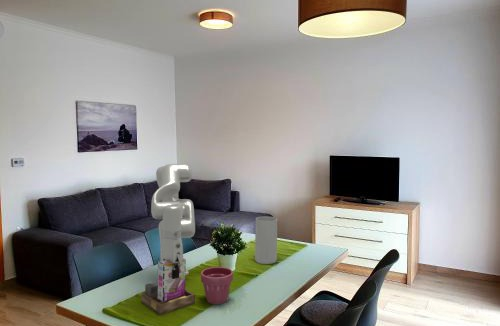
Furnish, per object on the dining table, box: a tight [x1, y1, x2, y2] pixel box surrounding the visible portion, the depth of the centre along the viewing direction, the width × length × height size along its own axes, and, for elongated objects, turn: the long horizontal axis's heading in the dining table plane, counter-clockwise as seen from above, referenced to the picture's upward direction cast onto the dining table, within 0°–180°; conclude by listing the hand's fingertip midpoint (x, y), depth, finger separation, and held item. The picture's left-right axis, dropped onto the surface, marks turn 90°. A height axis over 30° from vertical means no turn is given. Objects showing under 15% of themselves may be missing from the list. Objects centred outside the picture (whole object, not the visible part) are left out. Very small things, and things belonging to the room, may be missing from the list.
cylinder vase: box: [254, 215, 278, 265], centre depth 227 cm, size 12×12×25 cm
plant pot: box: [200, 266, 234, 305], centre depth 174 cm, size 14×14×13 cm
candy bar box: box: [157, 257, 187, 302], centre depth 167 cm, size 11×5×16 cm, turn 135°
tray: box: [140, 281, 196, 316], centre depth 170 cm, size 17×16×8 cm
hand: (171, 275), depth 167 cm, fingers closed on candy bar box, 5 cm apart
